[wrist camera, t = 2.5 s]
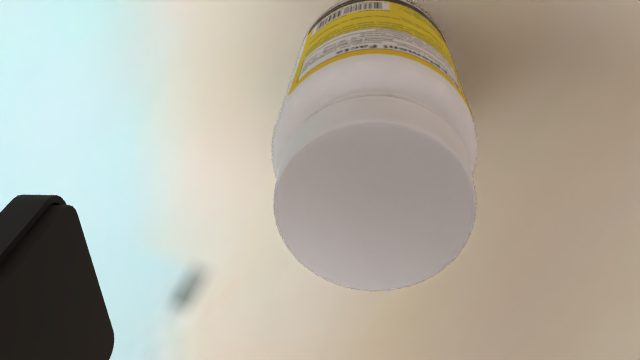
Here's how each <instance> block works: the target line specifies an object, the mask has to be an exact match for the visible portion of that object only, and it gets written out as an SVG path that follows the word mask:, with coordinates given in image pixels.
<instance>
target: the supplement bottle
mask: <svg viewBox="0 0 640 360" xmlns="http://www.w3.org/2000/svg"><path fill="white" fill-rule="evenodd" d="M476 160H477V136H476V130H475V125H474V121H473V118H472V114H471V111H470V108H469V106H468V103H467V100H466V98H465V95H464V92H463V89H462V87H461V84H460V81H459V78H458V75H457V72H456V70H455V67H454V64H453V61H452V59H451V56H450V53H449V50H448V48H447V45H446V43H445V40H444V38H443V36H442V34H441V32H440V30H439V29H438V27H437V26H436V24H435V23H434V22H433V21H432V20H431V18H430V17H429V16H428V15H427V14H426V13H424V12H423V11H422V10H421V9H419V8H418V7H416V6H415V5H413V4H411V3H409V2H407V1H405V0H345V1H343V2H341V3H339V4H337V5H335V6H333V7H332V8H330V9H329V10H327V11H326V12H325V13H324V14H323V15H321V16H320V17H319V18H318V19H317V21H316V22H315V23H314V24H313V25H312V27H311V28H310V30H309V31H308V33H307V35H306V36H305V38H304V41H303V43H302V46H301V49H300V52H299V55H298V58H297V61H296V64H295V68H294V71H293V74H292V78H291V81H290V84H289V87H288V90H287V93H286V96H285V99H284V102H283V105H282V108H281V111H280V114H279V117H278V120H277V122H276V125H275V129H274V133H273V138H272V162H273V167H274V172H275V176H276V179H277V181H276V185H275V192H274V215H275V220H276V224H277V227H278V230H279V232H280V235H281V237H282V239H283V241H284V243H285V244H286V246H287V248H288V249H289V250H290V252H291V253H292V254H293V255H294V256H295V258H296V259H297V260H298V261H299V262H300V263H302V264H303V265H304V266H305V267H306V268H308V269H309V270H310V271H312V272H313V273H315V274H316V275H318V276H320V277H322V278H324V279H326V280H328V281H330V282H332V283H335V284H338V285H340V286H344V287H348V288H352V289H358V290H367V291H386V290H393V289H399V288H403V287H407V286H411V285H414V284H417V283H419V282H422V281H424V280H426V279H428V278H430V277H432V276H433V275H435V274H437V273H438V272H439V271H441V270H442V269H443V268H445V267H446V266H447V265H448V264H449V263H450V262H452V261H453V260H454V258H455V257H456V256H457V255H458V254H459V252H460V251H461V250H462V248H463V247H464V245H465V244H466V242H467V240H468V238H469V236H470V234H471V231H472V229H473V225H474V222H475V216H476V193H475V187H474V183H473V173H474V170H475V166H476Z"/></svg>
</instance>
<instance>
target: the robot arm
mask: <svg viewBox="0 0 640 360" xmlns="http://www.w3.org/2000/svg"><path fill="white" fill-rule="evenodd" d="M113 346H114V333H113V329H112V325H111V322H110V319H109V316H108V312H107V309H106V306H105V302H104V299H103V296H102V293H101V289H100V286H99V283H98V280H97V276H96V273H95V270H94V267H93V263H92V260H91V257H90V253H89V250H88V247H87V244H86V240H85V237H84V234H83V231H82V227H81V224H80V221H79V217H78V214H77V212H76V210H75V208H74V207H73V206H70V205H66V203H65V201H64V200H63V199H62V198H61V197H59V196H57V195H19V196H17V197H15V198H14V199H13V200H12V201H11V202H10V203H9V204H8V205H7V206H6V207H5V208H4V209H3V210H2V211H1V212H0V360H109V359H110V356H111V354H112V351H113Z"/></svg>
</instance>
